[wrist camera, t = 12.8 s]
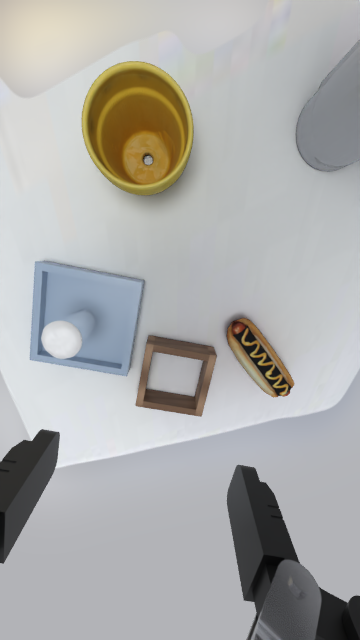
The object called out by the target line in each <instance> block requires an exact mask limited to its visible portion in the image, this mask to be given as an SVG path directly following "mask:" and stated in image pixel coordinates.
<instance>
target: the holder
mask: <svg viewBox="0 0 360 640" xmlns="http://www.w3.org/2000/svg"><path fill="white" fill-rule="evenodd" d="M152 352H159V353H164V354H170V355H176V356H181V357H187V358H192V359H198V360H203V364H202V369H201V373H200V377H199V381H198V385H197V389H196V393H195V397H192V396H186V395H180V394H174V393H168V392H162V391H156V390H150V389H146V385H147V379H148V374H149V368H150V363H151V358H152ZM216 358H217V355H216V353H215V350H214V347H211V346H205V345H200V344H194V343H189V342H183V341H178V340H172V339H167V338H161V337H156V336H150V335H149V337H148V340H147V344H146V349H145V355H144V361H143V366H142V372H141V377H140V383H139V389H138V394H137V400H136V406H139V407H145V408H151V409H157V410H164V411H170V412H176V413H182V414H188V415H195V416H202V412H203V408H204V405H205V401H206V397H207V393H208V389H209V385H210V381H211V377H212V373H213V369H214V365H215V361H216Z"/></svg>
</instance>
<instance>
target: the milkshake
mask: <svg viewBox="0 0 360 640" xmlns="http://www.w3.org/2000/svg"><path fill="white" fill-rule="evenodd" d="M94 327H95V317H94V316H93V314H92V313H91V312H88V311H86V310H82V311H78V312H75V313H73V314H71V315H69V316H66V317H64V318H62V319H59V320H57V321H54V322H51V323H49V324H48V325H47V326H45V328H44V329H43V332H42V336H41V341H42V344H43V346H44V348H45V350H46V351H47V352H48V353H49V354H51V355H52V356H54V357H55V358H59V359H66V358H71V357H73V356H75V355H76V354H77V353H78V352H79V350H80V349H81V347H82V345H83V344H84V342H85V340H86V339H87V337H88V335H89V334H90V333H91V331H92V330H93V328H94Z"/></svg>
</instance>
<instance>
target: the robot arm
mask: <svg viewBox="0 0 360 640" xmlns="http://www.w3.org/2000/svg"><path fill="white" fill-rule="evenodd" d="M296 138H297V145H298V148H299V151H300V153H301V155H302V157H303V159H304V160H305V161H306V162H307V163H308V164H309V165H311V166H312V167H314V168H316V169H319V170H322V171H333V170H337V169H340V168H343V167H345V166H347V165H349V164H352V163H354V162H356V161H358V160H360V40H359V41H358V42H357V43H356V44H355V45H354V46H353V48H352V49H351V50H350V51H349V52H348V53H347V54H346V55H345V57H344V58H343V59H342V60H341V61H340V62H339V63H338V64H337V65H336V67H335V68H334V69H333V70H332V71H331V72H330V73H329V74H328V75H327V77H326V78H325V79H324V80H323V81H322V82H321V85H320V89H319V90H318V91H317V92H316V93H315V94H314V96H313V97H312V98H311V99H310V100H309V101H308V103H307V104H306V105H305V107H304V108H303V110H302V112H301V114H300V117H299V120H298V124H297V131H296ZM59 438H60V433H59V432H54V431H49V430H43V429H42V430H40V431H39V432H38V434H37V435H36V436H35V438H34V439H33V440H32V441H27V440H23V441H22V442H20V443H19V444H17V445H16V446H14V447H13V448H12V449H11V450H10V451H9V452H8V453H7V455H6V456H5V457H4V458H3V460H2V461H1V462H0V563H4V562H5V560H6V558H7V556H8V555H9V553H10V551H11V549H12V547H13V546H14V544H15V542H16V540H17V538H18V536H19V535H20V533H21V531H22V529H23V527H24V525H25V524H26V522H27V520H28V518H29V516H30V514H31V513H32V511H33V509H34V507H35V506H36V504H37V502H38V500H39V498H40V497H41V495H42V493H43V491H44V489H45V487H46V485H47V484H48V482H49V480H50V478H51V476H52V474H53V472H54V470H55V467H56V463H57V457H58V448H59ZM227 506H228V512H229V518H230V524H231V529H232V535H233V541H234V547H235V552H236V558H237V564H238V569H239V575H240V581H241V586H242V592H243V598H244V600H245V601H252V602H255V607H256V612H257V613H256V615H255V618H254V621H253V623H252V626H251V629H250V631H249V634H248V637H247V639H246V640H360V596H353V597H352V598H351V599H350V600H349V602H348V603H347V602H345V601H343V600H341V599H339V598H337V597H335V596H334V595H332V594H330V593H328V592H326V591H324V590H323V589H321V588H320V587H318V584H317V583H316V581H315V579H314V577H313V576H312V575H311V574H310V572H309V571H308V570H307V569H305V567H304V566H302V565H301V564H300V562H299V561H298V557H297V555H296V552H295V549H294V547H293V544H292V541H291V538H290V536H289V533H288V531H287V528H286V525H285V523H284V520H283V517H282V514H281V511H280V509H279V506H278V503H277V501H276V498H275V495H274V493H273V492H272V491H271V489H270V488H269V486H268V485H267V484H266V483H264V482H260V480H259V478H258V474H257V472H256V469H255V468H254V467H248V466H243V465H237V467H236V469H235V472H234V475H233V478H232V480H231V483H230V486H229V489H228V494H227Z"/></svg>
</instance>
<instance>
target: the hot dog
mask: <svg viewBox="0 0 360 640" xmlns="http://www.w3.org/2000/svg"><path fill="white" fill-rule="evenodd" d="M227 340H228V344H229V346H230V347H231V349H232V351H233V353H234V354H235V356H236V358H237V359H238V361H239V362H240V364H241V365H242V366H243V368H244V369H245V370H246V372H247V373H248V374H249V376H250V377H251V378H252V379H253V380H254V381H255V382H256V384H257V385H258V386H259V387H260V388H261V389H262V390H263V391H264V392H265V393H267V394H269V395H271V396H272V397H278V396H283V397H284V396H288V394H289V393H290V389H291V388H292V387H293V386H294V382H293V379H292V377H291V375H290V374H289V372H288V371H287V369H286V368H285V366H284V365H283V363H282V361H281V360H280V358H279V357H278V356H277V354H276V353H275V351H274V350H273V348H272V347H271V346H270V344H269V343H268V341H267V340H266V339H265V337H264V336H263V335H262V333H261V332H260V331H259V329H258V328H257V327H256V326H255V325H254V324H253V323H252V322H251V321H250V320H248V319H246V318H242V319H239V320H236V321H233V322H232V324H231V325H230V326H229V327H228V331H227Z"/></svg>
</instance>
